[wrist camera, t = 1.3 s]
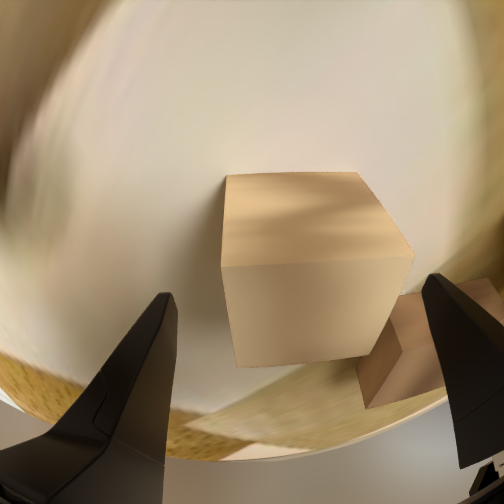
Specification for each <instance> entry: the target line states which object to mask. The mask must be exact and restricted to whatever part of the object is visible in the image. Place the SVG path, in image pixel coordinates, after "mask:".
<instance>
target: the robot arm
mask: <svg viewBox="0 0 504 504" xmlns="http://www.w3.org/2000/svg"><path fill="white" fill-rule="evenodd" d="M421 295H422V299H423V303H424V307H425V311H426V315H427V320H428V324H429V328H430V332H431V336H432V339H433V342H434V345H435V349H436V352H437V356H438V359H439V363H440V367H441V370H442V374H443V378H444V382H445V386H446V391H447V395H448V400H449V404H450V409H451V414H452V419H453V424H454V425H453V426H454V431H455V438H456V445H457V452H458V460H459V467H460V469H463V468H465V467H468V466H470V465H473V464H475V463H478V462H480V461H482V460H485V459H487V458H489V457H491V456H492V458H493V460H492V461H490V462H489V463H487V464H486V465H484V466H482V467H481V468H480V469H479V471H478V474H477V476H476V478H475V480H474V483H473V485H472V487H471V489H470V491H469V495H470V497H469V498H467V499H465V500H464V501H462V502H460V503H458V504H504V326H503V325H502V324H501V323H500V322H499V321H498V320H497V319H495V318H494V317H493V316H492V315H491V314H490V313H489V312H487V311H486V310H485V309H484V308H483V307H481V306H480V305H479V304H478V303H477V302H475V301H474V300H473V299H472V298H470V297H469V296H468V295H467V294H466V293H464V292H463V291H462V290H460V289H459V288H458V287H457V286H455V285H454V284H453V283H452V282H450V281H449V280H448V279H446V278H445V277H444V276H442V275H441V274H440V273H433V274H429V275H428V277H427V279H426V281H425V284H424V286H423V288H422V291H421ZM177 322H178V311H177V307H176V304H175V301H174V298H173V295H172V294H171V293H170V292H161V293H159V294H157V296H156V297H155V298H154V299H153V301H152V302H151V303H150V304H149V306H148V307H147V308H146V310H145V311H144V312H143V313H142V315H141V316H140V317H139V319H138V320H137V321H136V322H135V324H134V325H133V326H132V328H131V329H130V330H129V331H128V333H127V334H126V335H125V337H124V338H123V339H122V341H121V342H120V343H119V345H118V346H117V347H116V349H115V350H114V351H113V353H112V354H111V355H110V357H109V358H108V359H107V361H106V362H105V363H104V365H103V366H102V368H101V369H100V371H99V372H98V373H97V374H96V376H95V377H94V378H93V380H92V381H91V382H90V384H89V385H88V386H87V388H86V389H85V390H84V392H83V393H82V394H81V395H80V396H79V397H78V399H77V400H76V401H75V402H74V403H73V404H72V406H71V407H70V408H69V409H68V410H67V411H66V412H65V414H64V415H63V416H62V417H61V418H60V419H59V420H58V422H57V423H56V424H55V425H54V426H53V427H52V428H51V429H50V430H49V431H47V432H46V433H44V434H42V435H40V436H38V437H36V438H33V439H30V440H28V441H25V442H23V443H20V444H17V445H14V446H12V447H9V448H6V449H3V450H0V504H162V496H163V479H164V464H165V452H166V441H167V430H168V421H169V411H170V403H171V394H172V386H173V378H174V371H175V364H176V354H177Z"/></svg>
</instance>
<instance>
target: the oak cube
mask: <svg viewBox="0 0 504 504" xmlns="http://www.w3.org/2000/svg"><path fill="white" fill-rule="evenodd" d="M414 258H415V253H414V251H413V250H412V248H411V247H410V245H409V244H408V242H407V241H406V239H405V238H404V236H403V235H402V233H401V232H400V230H399V229H398V227H397V226H396V224H395V223H394V221H393V220H392V218H391V217H390V216H389V214H388V213H387V211H386V210H385V209H384V207H383V206H382V204H381V203H380V202H379V200H378V199H377V198H376V196H375V195H374V194H373V192H372V191H371V190H370V188H369V187H368V186H367V184H366V183H365V182H364V181H363V179H362V178H361V177H360V175H359V174H358V173H357V172H285V173H258V174H238V175H227V178H226V192H225V206H224V220H223V236H222V253H221V273H222V279H223V286H224V293H225V299H226V305H227V312H228V318H229V324H230V330H231V336H232V342H233V348H234V354H235V360H236V365H237V368H252V367H269V366H282V365H294V364H304V363H313V362H322V361H330V360H337V359H345V358H351V357H358V356H364V355H369V354H370V352H371V350H372V349H373V347H374V345H375V343H376V341H377V339H378V337H379V335H380V333H381V332H382V330H383V328H384V326H385V324H386V322H387V320H388V317H389V315H390V313H391V311H392V309H393V307H394V305H395V303H396V300H397V298H398V296H399V294H400V292H401V289H402V287H403V285H404V282H405V280H406V278H407V275H408V273H409V270H410V268H411V266H412V263H413V260H414Z"/></svg>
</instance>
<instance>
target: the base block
mask: <svg viewBox="0 0 504 504" xmlns="http://www.w3.org/2000/svg"><path fill="white" fill-rule="evenodd" d="M455 286H457V287H458V288H459V289H460V290H462V291H463V292H464V293H466V294H467V295H468V296H469V297H470V298H472V299H473V300H474V301H475V302H477V303H478V304H479V305H480V306H481V307H483V308H484V309H485V310H486V311H487V312H489V313H490V314H491V315H492V316H493V317H494V318H495V319H497V320H498V321H499V322H500V323H501V324H502V325H503V326H504V302H503V300H502V298H501V297H500V295H499V294H498V292H497V291H496V289H495V287H494V286H493V284H492V283H491V281H490V280H489V278H488V277H485V278H481V279H477V280H472V281H468V282H464V283H459V284H455ZM356 372H357V376H358V380H359V384H360V388H361V392H362V396H363V400H364V405H365V409H370V408H374V407H378V406H382V405H386V404H389V403H393V402H397V401H400V400H404V399H407V398H410V397H413V396H417V395H420V394H423V393H426V392H429V391H432V390H435V389H437V388H440V387H443V386H445V382H444V378H443V374H442V370H441V367H440V363H439V359H438V356H437V352H436V349H435V345H434V342H433V339H432V336H431V332H430V328H429V324H428V320H427V315H426V311H425V307H424V303H423V299H422V295H421V292H416V293H411V294H406V295H401V296H398V298H397V300H396V303H395V305H394V307H393V309H392V311H391V313H390V315H389V317H388V320H387V322H386V324H385V326H384V328H383V330H382V332H381V333H380V335H379V337H378V339H377V341H376V343H375V345H374V347H373V349H372V350H371V352H370V354H369V355H364V356H361V358H360V361H359V363H358V365H357V368H356Z"/></svg>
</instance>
